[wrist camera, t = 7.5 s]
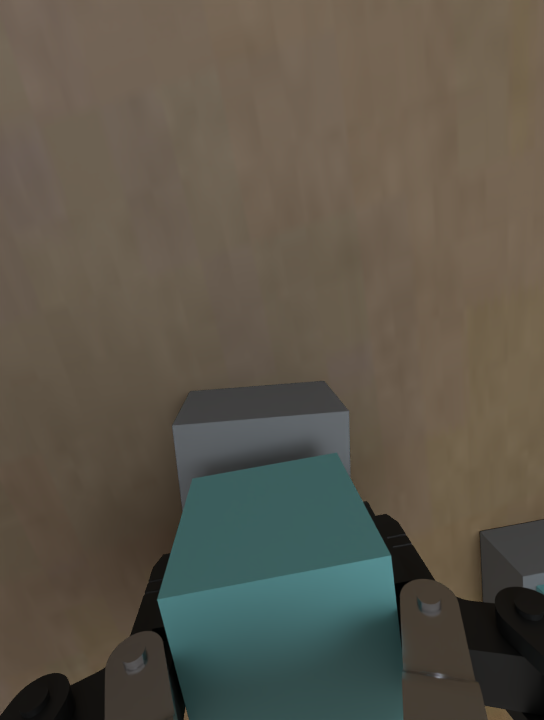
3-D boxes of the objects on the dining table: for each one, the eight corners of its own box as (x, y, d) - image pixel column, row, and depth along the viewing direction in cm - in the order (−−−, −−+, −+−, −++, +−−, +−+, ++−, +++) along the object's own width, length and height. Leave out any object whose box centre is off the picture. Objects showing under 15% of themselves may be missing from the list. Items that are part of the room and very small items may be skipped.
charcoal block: (203, 511, 21) (190, 580, 16) (190, 390, 19) (172, 425, 15) (327, 499, 21) (352, 563, 16) (323, 380, 20) (348, 410, 15)
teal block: (220, 601, 14) (204, 777, 9) (192, 478, 13) (156, 599, 8) (353, 576, 14) (411, 735, 9) (336, 452, 13) (391, 555, 8)
